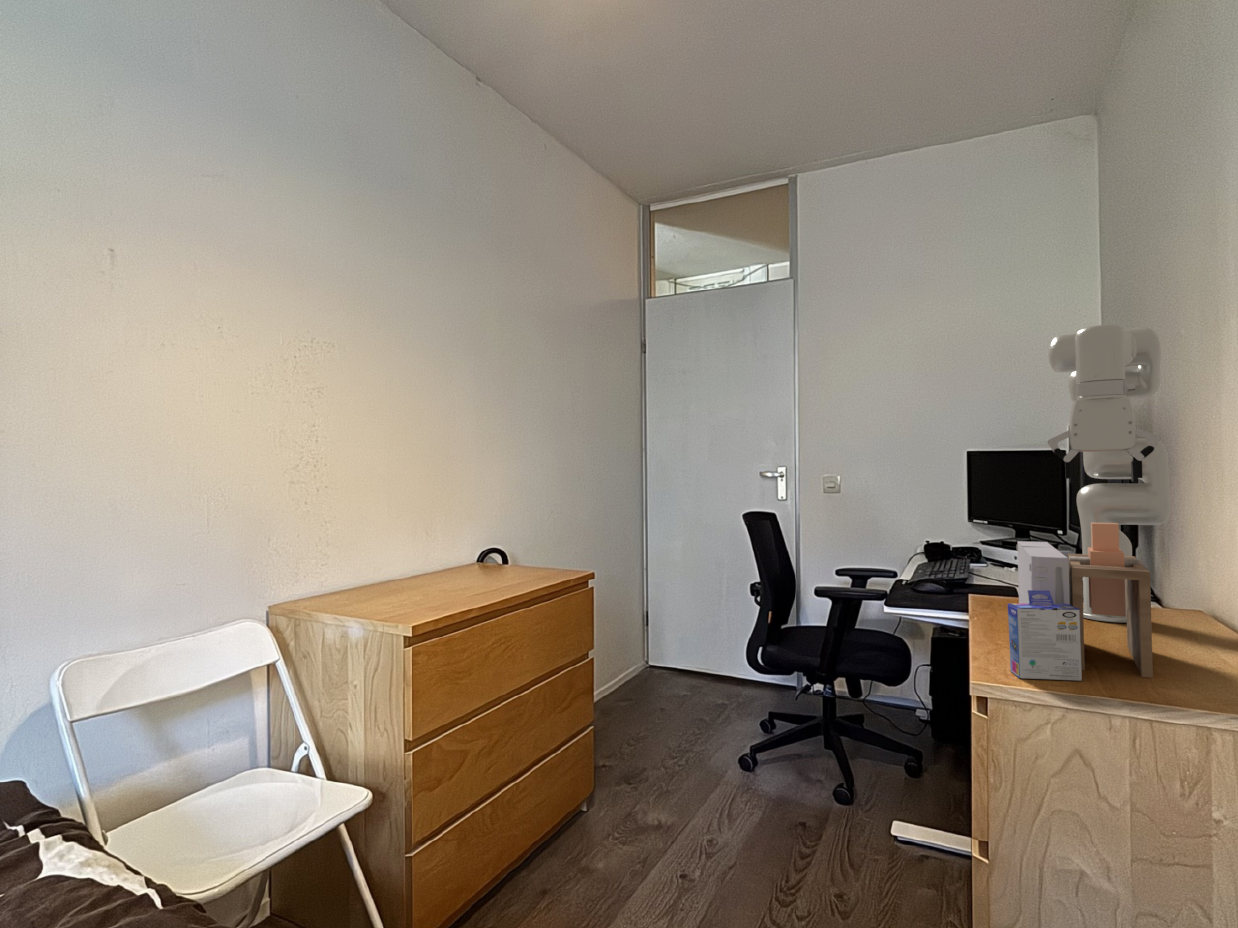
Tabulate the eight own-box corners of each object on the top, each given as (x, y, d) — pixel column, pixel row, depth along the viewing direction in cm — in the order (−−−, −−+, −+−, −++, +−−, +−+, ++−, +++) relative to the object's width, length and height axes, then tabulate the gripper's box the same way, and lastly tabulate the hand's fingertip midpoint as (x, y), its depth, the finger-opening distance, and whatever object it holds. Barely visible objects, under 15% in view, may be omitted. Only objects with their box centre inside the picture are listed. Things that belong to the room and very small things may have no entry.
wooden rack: (1069, 640, 138) (1067, 549, 138) (1136, 647, 132) (1134, 552, 132) (1074, 668, 119) (1071, 563, 119) (1152, 677, 113) (1150, 567, 113)
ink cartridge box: (1069, 672, 117) (1067, 589, 117) (1084, 682, 112) (1082, 595, 112) (1007, 669, 119) (1005, 588, 119) (1019, 679, 114) (1017, 594, 114)
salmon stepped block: (1089, 606, 130) (1086, 521, 131) (1121, 608, 128) (1118, 522, 128) (1091, 613, 123) (1089, 524, 123) (1125, 616, 120) (1123, 525, 121)
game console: (1033, 666, 121) (1030, 556, 121) (1018, 632, 145) (1016, 541, 146) (1071, 670, 118) (1068, 557, 119) (1049, 634, 143) (1047, 542, 143)
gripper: (1156, 389, 125) (1158, 481, 125) (1046, 396, 134) (1048, 482, 134) (1162, 386, 118) (1164, 483, 118) (1046, 394, 127) (1048, 483, 128)
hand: (1102, 482), depth 126 cm, fingers open, 9 cm apart
